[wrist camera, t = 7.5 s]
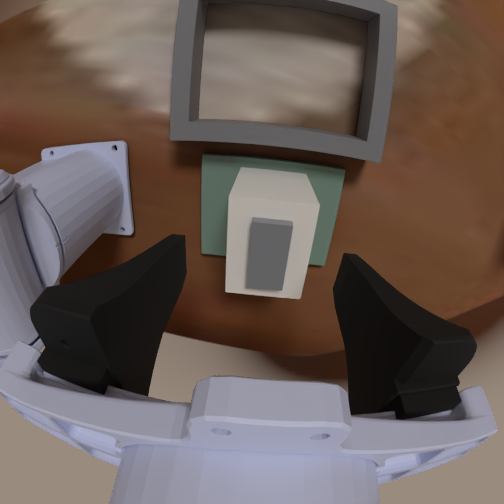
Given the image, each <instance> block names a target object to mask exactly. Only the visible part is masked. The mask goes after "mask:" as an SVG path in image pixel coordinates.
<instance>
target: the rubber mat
mask: <svg viewBox="0 0 504 504" xmlns="http://www.w3.org/2000/svg"><path fill="white" fill-rule="evenodd" d="M241 167H247V168H259V169H269V170H278V171H287V172H296V173H304V174H307V177H308V179H309V181H310V183H311V186H312V188H313V190H314V193H315V195H316V197H317V200H318V202H319V204H320V208H319V214H318V219H317V224H316V229H315V234H314V239H313V244H312V249H311V253H310V258H309V263H308V264H312V265H322V266H325V262H326V258H327V254H328V250H329V246H330V242H331V238H332V233H333V229H334V225H335V220H336V216H337V211H338V206H339V202H340V197H341V192H342V187H343V182H344V176H345V171H346V170H345V169H344V168H341V167H334V166H328V165H322V164H315V163H308V162H300V161H292V160H284V159H275V158H265V157H255V156H243V155H229V154H212V153H204V154H202V186H201V240H202V254H212V255H222V256H226V253H227V226H228V203H229V194H230V192H231V190H232V187H233V185H234V183H235V180H236V178H237V175H238V173H239V171H240V168H241Z"/></svg>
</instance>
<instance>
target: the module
mask: <svg viewBox="0 0 504 504" xmlns="http://www.w3.org/2000/svg"><path fill="white" fill-rule="evenodd" d="M319 208H320V204H319V202H318V200H317V197H316V195H315V193H314V190H313V188H312V186H311V183H310V181H309V179H308V177H307V174H304V173H296V172H287V171H278V170H269V169H259V168H247V167H241V168H240V171H239V173H238V175H237V178H236V180H235V183H234V185H233V187H232V190H231V192H230V194H229V203H228V226H227V253H226V287H225V292H230V293H240V294H249V295H259V296H270V297H281V298H293V299H300V298H301V294H302V289H303V285H304V281H305V276H306V272H307V267H308V263H309V258H310V253H311V249H312V244H313V239H314V234H315V229H316V224H317V219H318V214H319Z"/></svg>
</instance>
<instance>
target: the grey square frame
mask: <svg viewBox="0 0 504 504" xmlns="http://www.w3.org/2000/svg"><path fill="white" fill-rule="evenodd" d="M216 3H249V4H268V5H280V6H289V7H297V8H304V9H311V10H317V11H322V12H327V13H332V14H337V15H341V16H346V17H350V18H354V19H358V20H361V21H365V22H368V30H367V46H366V58H365V69H364V79H363V88H362V96H361V104H360V112H359V119H358V125H357V132H356V136H352V135H347V134H342V133H337V132H331V131H325V130H319V129H313V128H306V127H299V126H291V125H283V124H274V123H264V122H252V121H238V120H218V119H198V118H199V98H200V81H201V67H202V55H203V44H204V33H205V24H206V15H207V6H208V4H216ZM396 43H397V5H394V4H391V3H389V2H386V1H383V0H180V1H179V8H178V16H177V24H176V34H175V44H174V55H173V69H172V85H171V109H170V140H177V141H214V142H232V143H246V144H258V145H268V146H278V147H287V148H295V149H302V150H310V151H316V152H323V153H329V154H335V155H341V156H347V157H352V158H357V159H362V160H367V161H372V162H377V163H381V158H382V153H383V148H384V142H385V137H386V131H387V125H388V118H389V112H390V105H391V97H392V89H393V80H394V70H395V58H396Z"/></svg>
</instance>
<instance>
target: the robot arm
mask: <svg viewBox="0 0 504 504" xmlns="http://www.w3.org/2000/svg"><path fill="white" fill-rule="evenodd" d="M115 145H116V146H117V150H115V149H114V146H115ZM52 152H53V153H54V155H53V153H52ZM41 155H42V161H41V162H39V163H36V164H34V165H32V166H30V167H28V168H26V169H24V170H22V171H20V172H18V173H16V174H14V175H12V174H8V173H7V172H5V171H3V170H0V395H1V396H2V397H3V398H4V399H5V400H6V401H7V402H8V403H9V404H10V405H11V406H12V407H13V408H14V409H15V410H16V411H17V412H18V413H19V414H20V415H21V416H22V417H23V418H25V419H26V420H28V421H30V422H31V423H33V424H35V425H36V426H38V427H40V428H41V429H43V430H45V431H47V432H48V433H50V434H52V435H54V436H55V437H57V438H59V439H61V440H62V441H64V442H66V443H68V444H70V445H72V446H74V447H76V448H78V449H80V450H82V451H84V452H86V453H88V454H90V455H92V456H94V457H96V458H99V459H101V460H103V461H105V462H108V463H110V464H113V465H115V466H118V467H119V468H118V472H117V476H116V479H115V483H114V487H113V490H112V494H111V498H110V502H109V504H380V497H379V487H378V484H382V483H386V482H390V481H394V480H397V479H400V478H403V477H407V476H410V475H413V474H416V473H419V472H422V471H425V470H428V469H431V468H433V467H436V466H439V465H442V464H444V463H447V462H449V461H452V460H454V459H457V458H460V457H462V456H463V455H465V454H466V453H468V452H469V451H471V450H472V449H474V448H475V447H477V446H478V445H480V444H481V443H482V442H484V441H485V440H486V439H488V438H489V437H491V435H493V434H494V433H496V432H497V430H498V428H497V426H496V423H495V420H494V417H493V414H492V411H491V409H490V406H489V404H488V401H487V399H486V396H485V393H484V391H483V389H482V386H481V385H478V386H475V387H471V388H466V389H464V390H462V391H460V392H458V390H457V387H456V386H458V385H459V384H460V381H459V379H458V375H459V374H460V373H461V372H462V371H463V369H464V368H465V367H466V366H467V365H468V363H469V362H470V361H471V359H472V358H473V356H474V354H475V352H476V348H477V344H476V342H475V340H474V338H473V336H472V334H471V333H470V331H469V330H468V329H466V328H463V327H460V326H458V325H455V324H453V323H450V322H448V321H446V320H444V319H442V318H440V317H438V316H436V315H434V314H432V313H430V312H429V311H427V310H425V309H424V308H422V307H420V306H419V305H417V304H416V303H414V302H413V301H411V300H410V299H408V298H407V297H406V296H404V295H403V294H402V293H400V292H399V291H398V290H396V289H395V288H394V287H393V286H392V285H390V284H389V283H388V282H387V281H386V280H385V279H384V278H382V277H381V276H380V275H379V274H378V273H377V272H376V271H375V270H374V269H373V268H372V267H370V266H369V265H368V264H367V263H366V262H365V261H364V260H363V259H361V258H360V257H359V256H358V255H356V254H348V253H344V254H343V258H342V261H341V264H340V268H339V271H338V274H337V277H336V281H335V284H334V287H333V294H334V303H335V309H336V313H337V317H338V321H339V325H340V329H341V333H342V337H343V341H344V346H345V351H346V359H347V371H348V393H349V394H348V395H347V392H346V391H345V390H343V389H342V388H341V387H340V386H338V385H336V384H330V383H325V382H312V381H311V382H310V381H287V380H272V379H260V378H249V377H238V376H212V377H210V378H207V379H204V380H202V381H199V382H197V384H196V386H195V388H194V391H193V395H192V400H191V403H181V402H178V403H177V402H170V401H165V400H161V399H156V398H152V397H148V393H149V387H150V383H151V378H152V373H153V369H154V364H155V360H156V356H157V352H158V349H159V345H160V342H161V338H162V334H163V332H164V329H165V327H166V324H167V322H168V320H169V318H170V315H171V313H172V311H173V309H174V306H175V304H176V302H177V300H178V297H179V295H180V293H181V290H182V287H183V284H184V280H185V277H186V273H187V270H186V247H185V235H176V234H172V235H170V236H168V237H166V238H165V239H163V240H162V241H160V242H158V243H157V244H155V245H154V246H152V247H151V248H149V249H147V250H146V251H144V252H143V253H141V254H139V255H137V256H136V257H134V258H132V259H131V260H129V261H127V262H125V263H123V264H121V265H119V266H117V267H115V268H112V269H110V270H108V271H105V272H102V273H100V274H97V275H94V276H92V277H89V278H85V279H82V280H78V281H75V282H70V283H66V284H60V285H59V280H60V278H61V277H62V275H63V274H64V273H65V272H66V271H67V270H68V269H69V268H70V267H71V265H72V264H73V263H74V262H75V261H76V260H77V259H78V258H79V257H80V256H81V255H82V254H83V253H84V252H85V250H86V249H87V248H88V247H89V246H90V245H91V244H92V243H93V242H94V241H95V240H96V239H97V238H98V237H99V236H100V235H101V234H102V233H109V234H119V235H131V234H133V232H134V222H133V213H132V204H131V193H130V181H129V166H128V146H127V144H126V142H124V141H110V142H97V143H85V144H76V145H67V146H59V147H51V148H46V149H43V150H42V154H41ZM122 227H123V228H124V229H125V230H123V229H122ZM44 346H45V349H44V350H43V352H42V353H41V352H40V350H41V349H42V348H43V347H44Z"/></svg>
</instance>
